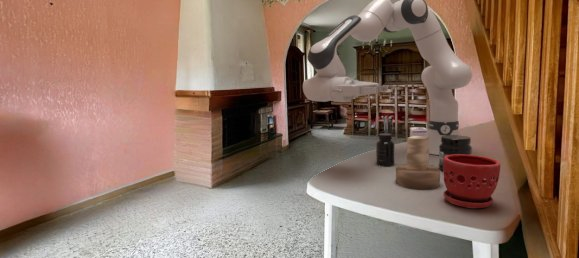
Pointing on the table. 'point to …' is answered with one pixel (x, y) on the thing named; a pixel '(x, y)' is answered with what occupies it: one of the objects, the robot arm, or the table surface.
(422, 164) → the ash block
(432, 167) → the walnut plinth
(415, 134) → the syrup box
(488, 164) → the plant pot
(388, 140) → the supplement bottle
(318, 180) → the table surface
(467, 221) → the table surface
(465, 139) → the supplement container
